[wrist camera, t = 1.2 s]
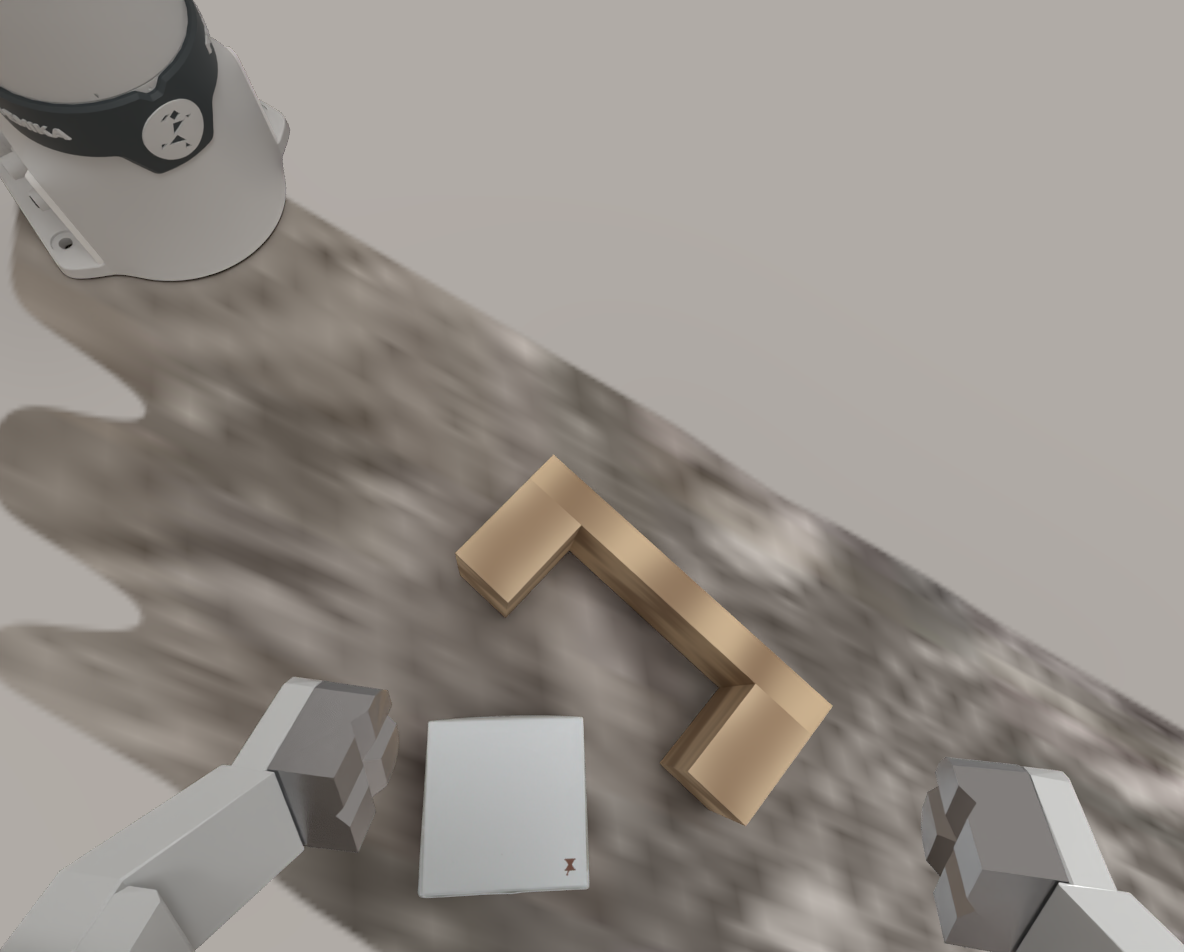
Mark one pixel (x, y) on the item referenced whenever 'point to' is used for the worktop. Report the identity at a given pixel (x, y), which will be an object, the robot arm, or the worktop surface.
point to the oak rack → (678, 612)
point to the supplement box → (504, 806)
